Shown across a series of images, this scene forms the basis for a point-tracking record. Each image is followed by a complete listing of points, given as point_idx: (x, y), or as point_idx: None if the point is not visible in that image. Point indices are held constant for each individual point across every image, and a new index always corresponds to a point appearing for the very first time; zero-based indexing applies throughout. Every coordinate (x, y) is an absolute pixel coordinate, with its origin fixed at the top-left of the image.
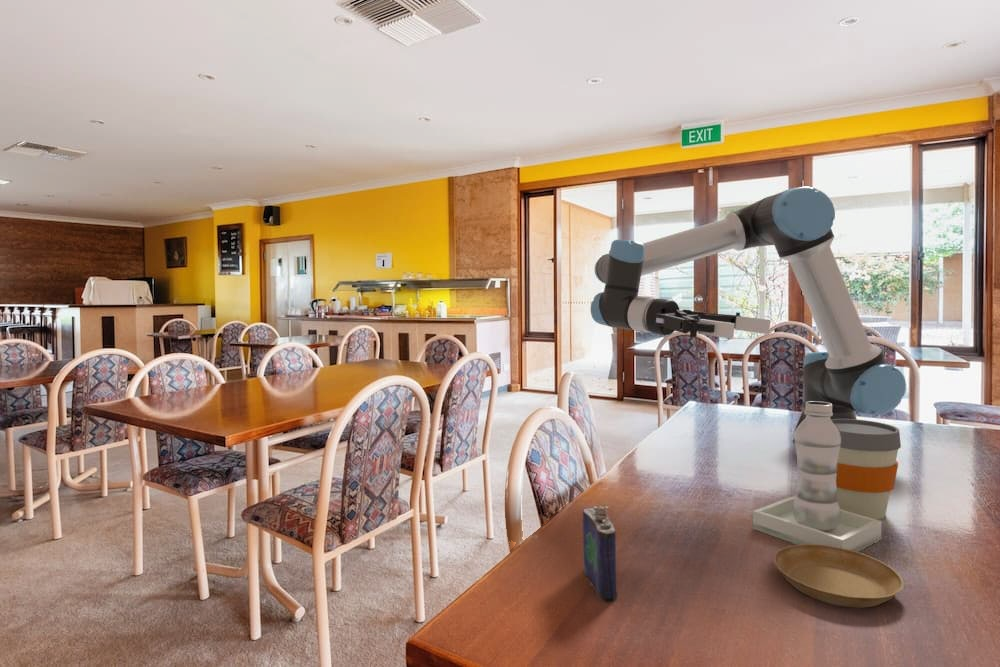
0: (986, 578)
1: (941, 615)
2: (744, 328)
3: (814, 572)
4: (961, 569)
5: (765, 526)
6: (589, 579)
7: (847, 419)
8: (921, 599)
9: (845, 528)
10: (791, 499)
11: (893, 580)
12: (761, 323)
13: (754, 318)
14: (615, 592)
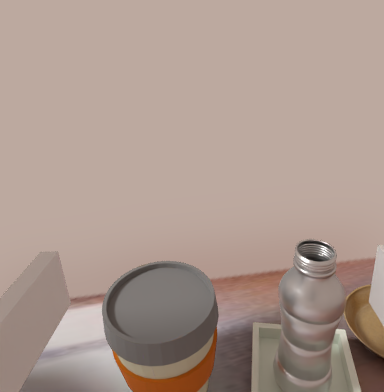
0: (264, 274)
1: (357, 278)
2: (11, 387)
3: None
4: (262, 285)
5: None
6: None
7: (108, 320)
8: (347, 289)
9: (270, 359)
10: None
11: (357, 296)
12: (48, 286)
13: (24, 295)
14: None
